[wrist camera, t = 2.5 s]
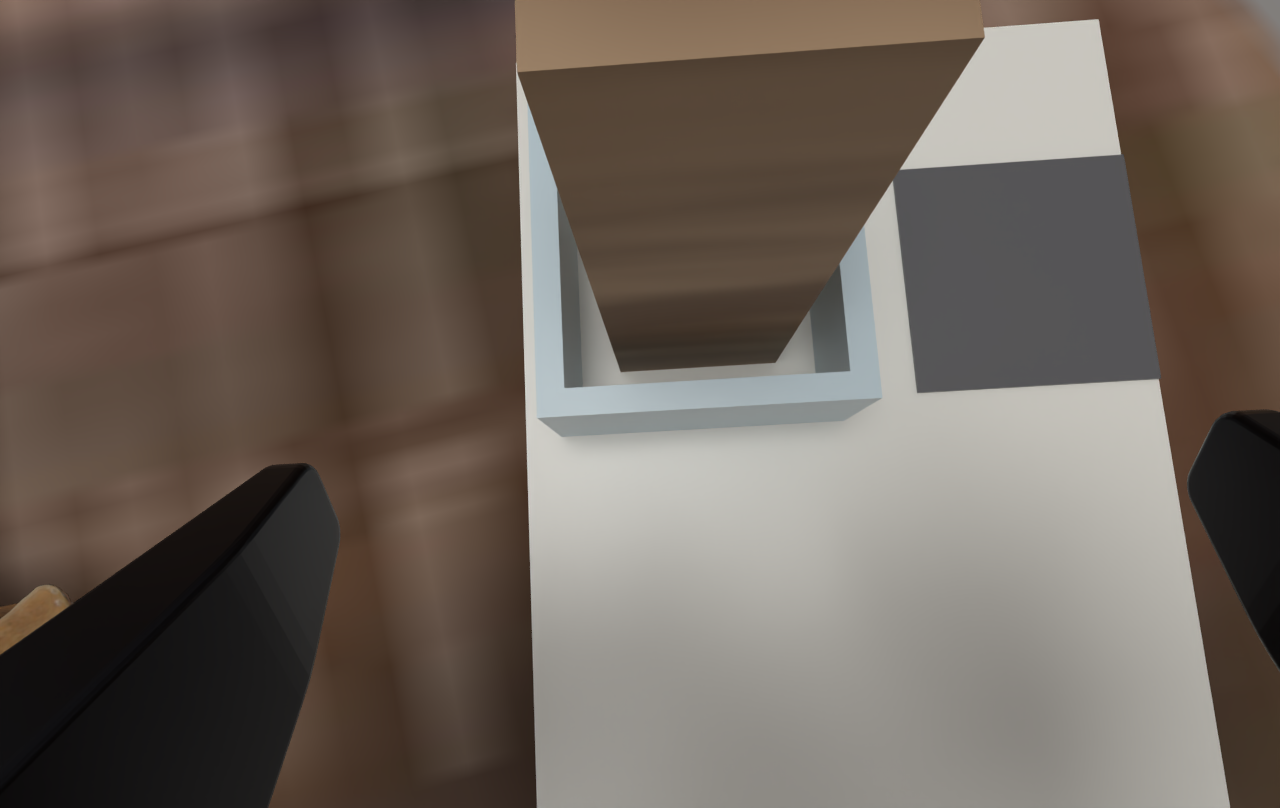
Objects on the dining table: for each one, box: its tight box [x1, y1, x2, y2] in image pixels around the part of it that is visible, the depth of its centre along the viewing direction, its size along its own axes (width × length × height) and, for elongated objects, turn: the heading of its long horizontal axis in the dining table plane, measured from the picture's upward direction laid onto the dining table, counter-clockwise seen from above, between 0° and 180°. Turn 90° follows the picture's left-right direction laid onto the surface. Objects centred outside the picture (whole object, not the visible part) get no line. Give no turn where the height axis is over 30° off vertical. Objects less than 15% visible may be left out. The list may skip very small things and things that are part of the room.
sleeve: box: [527, 103, 882, 437], centre depth 18 cm, size 7×7×4 cm
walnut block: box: [515, 0, 985, 372], centre depth 13 cm, size 4×4×13 cm
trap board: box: [516, 19, 1230, 808], centre depth 19 cm, size 24×16×1 cm, turn 3°
